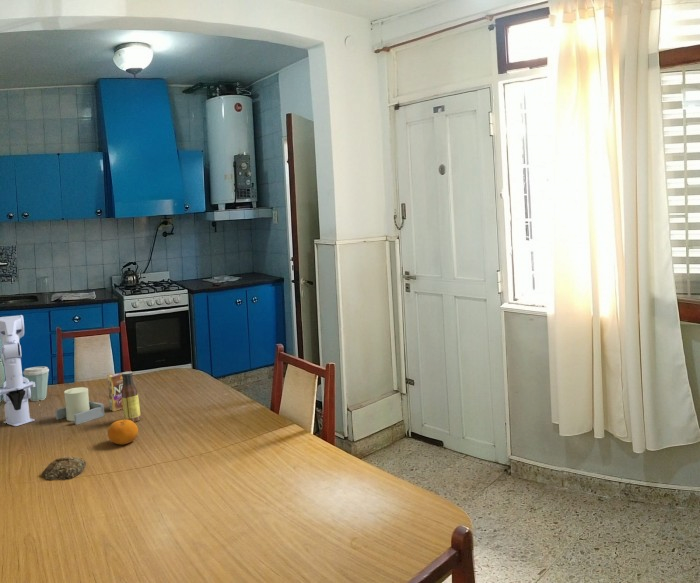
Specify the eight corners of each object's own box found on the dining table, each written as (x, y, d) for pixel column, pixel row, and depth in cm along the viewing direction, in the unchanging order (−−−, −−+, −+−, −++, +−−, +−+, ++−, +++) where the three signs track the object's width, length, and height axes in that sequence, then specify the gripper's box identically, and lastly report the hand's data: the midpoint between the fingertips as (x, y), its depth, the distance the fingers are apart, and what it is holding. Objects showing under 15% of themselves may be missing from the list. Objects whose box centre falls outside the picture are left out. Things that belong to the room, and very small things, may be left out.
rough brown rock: (91, 464, 208) (89, 450, 207) (76, 480, 195) (74, 465, 195) (52, 466, 207) (50, 451, 207) (34, 482, 195) (33, 466, 194)
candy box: (113, 412, 262) (110, 376, 260) (109, 409, 265) (106, 375, 263) (133, 406, 268) (131, 372, 266) (129, 404, 271) (126, 370, 270)
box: (56, 419, 255) (54, 407, 255) (84, 410, 266) (83, 399, 265) (76, 424, 247) (75, 412, 247) (104, 415, 258) (103, 404, 257)
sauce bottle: (143, 417, 253) (139, 370, 250) (136, 423, 247) (132, 374, 244) (128, 418, 254) (124, 370, 251) (121, 423, 248) (116, 374, 245)
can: (62, 418, 256) (59, 390, 255) (83, 412, 263) (81, 384, 262) (73, 422, 250) (70, 393, 249) (95, 416, 257) (92, 388, 256)
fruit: (107, 449, 220) (105, 427, 219) (110, 439, 230) (108, 418, 229) (138, 445, 223) (136, 423, 222) (139, 435, 233) (138, 415, 232)
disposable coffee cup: (26, 398, 288) (23, 366, 286) (52, 394, 292) (49, 363, 290) (25, 404, 278) (21, 371, 276) (51, 400, 283) (48, 368, 281)
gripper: (-1, 380, 229) (3, 416, 231) (38, 371, 241) (41, 405, 243) (-10, 378, 233) (-6, 413, 235) (28, 369, 245) (31, 403, 246)
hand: (17, 409), depth 239 cm, fingers closed
